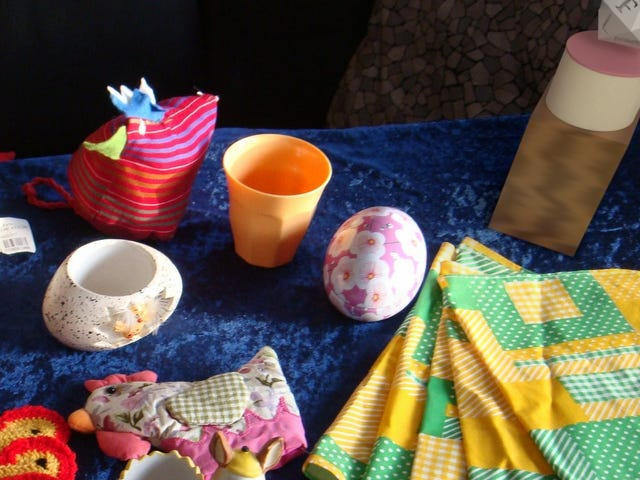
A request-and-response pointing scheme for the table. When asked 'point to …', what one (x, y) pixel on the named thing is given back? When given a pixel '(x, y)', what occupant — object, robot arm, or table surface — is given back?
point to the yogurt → (596, 84)
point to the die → (620, 22)
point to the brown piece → (558, 180)
